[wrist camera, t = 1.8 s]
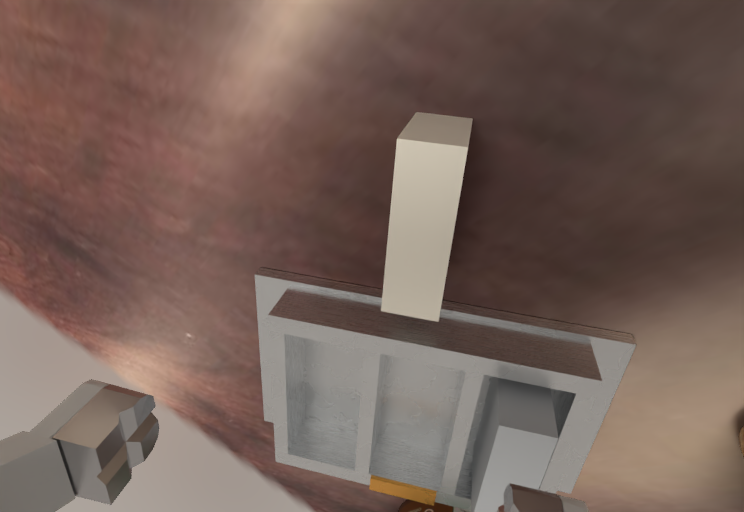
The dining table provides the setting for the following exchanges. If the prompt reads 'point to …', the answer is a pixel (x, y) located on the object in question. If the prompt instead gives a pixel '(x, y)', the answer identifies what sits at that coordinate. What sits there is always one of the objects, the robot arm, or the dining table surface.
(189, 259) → the dining table surface
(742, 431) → the stone cup
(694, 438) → the dining table surface
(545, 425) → the gray rectangular block
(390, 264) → the beige rectangular block
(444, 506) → the food container
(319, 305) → the rack
